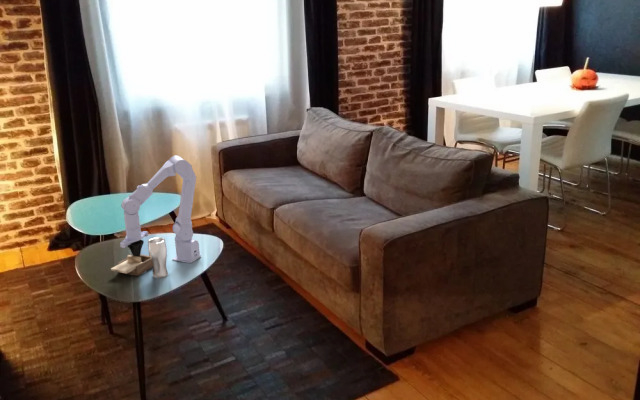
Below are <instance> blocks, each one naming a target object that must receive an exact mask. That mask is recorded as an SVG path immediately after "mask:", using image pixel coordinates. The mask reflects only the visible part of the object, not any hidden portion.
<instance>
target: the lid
mask: <svg viewBox="0 0 640 400" xmlns="http://www.w3.org/2000/svg"><path fill="white" fill-rule="evenodd" d="M132 255H133V254H127V256H126V258H127V259H128V260H126V261H124V262H122V263H120V264H119V265H118V264H117V265H115V266H113V267H111V268H110V271H111V272H112V271H113V272H117V273H120V272H121V274H125V273H126V274H125V275H128V274H127V273H129V272H130V271H132V270H134V269H136V266H137V265H139V264H141V263H143V262H141V257H137V256H132Z"/></svg>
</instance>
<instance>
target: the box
mask: <svg viewBox="0 0 640 400" xmlns="http://www.w3.org/2000/svg"><path fill="white" fill-rule="evenodd" d="M131 255H132V256H133V254H131ZM140 257H141V262H143V263H141V264H139V265H137V266H136V269H134V270H132V271H130V272H129V273H127V274H126V273H124V274H125V275H131V276H137V277H140V276H141V275H143V274H145V273H146V272H148V271H149V270H151V269H153V266H152V263H151V260H150V256H149V255H147V254H141V253H140ZM126 260H128V259H127V257H126V258H124V259H122V260H120V261H118V262H117V265H119V264H120V263H122V262H124V261H126ZM119 273H121V272H119ZM121 274H122V273H121Z"/></svg>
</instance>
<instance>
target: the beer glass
mask: <svg viewBox="0 0 640 400" xmlns="http://www.w3.org/2000/svg"><path fill="white" fill-rule="evenodd" d="M147 244H148V245H147V247H148V248H147V249H148V256H150V260H151V263H152V266H153V268H152V277H153V278H154V279H163V278H166V277H168V275H169V272H168V269H167V257H168V254H167V252H168V249H167V243H166V239H165V238H164V237H157V236H156V237H153V238H150V239H148V240H147Z"/></svg>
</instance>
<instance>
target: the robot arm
mask: <svg viewBox="0 0 640 400" xmlns="http://www.w3.org/2000/svg"><path fill="white" fill-rule="evenodd" d="M176 174H177V175H179V176H180V178H181V179H182V186H181V193H180V201H179V209H178V214H177V217H176V218H175V222H174V224H173V225H172V232H173V233H174V234H175V236H174V243H175V255H176V256H175V257H173V258H172V261H174V262H175V261H176V262H183V263H187V264H188V263H189V264H191V263H193V262H195V261H197V260H198V259H199V258H202V255H201V254H200V253H201V251H200V244H199V241H198V240H195V238H193V236H194V230H193V223H192V213H193V212H192V211H193V204H194V198H195V197H194V196H195V192H196V191H195V189H196V182H197V176H196V174H195V171H194V169H193V165H192V164H191V163H190V162H189V161H187V160H186V159H183V158H182V157H181V156H180V155H173V156H171V157H170V158H169V159H168V160H167V161H165V163H163V165H162V167H160V168H159V170H158V171H156V173H155V174H154V175H153V176H152V177H151V178H150V179H149V180H148V181H147V182H146V183H142V184H141V185H140V184H139V185H137V186H136V189H135V190H134V191H133V192H132V193H131V194H128V195H127V197H126V198H124V199H123V200H122V202H121V205H120V207H121V208H122V210H123V215H124V216H123V218H124V225H125V238H124V239H123V240H122V241H121V242H120V243H119V246H120V248H122V249H125V248H128V249H129V250H130V253H131V255H133V256H137V257H140V254H141V251H142V248H143V246H144V243H145V241H144V240H142V239H143V238H145V237H146V238H147V237H148V236H149V232H148V231H145V230H143V231H142V230H141V220H140V215H139V211H140V209H141V206H142V205H143V204H144V203H145V202H146V201H147V200H148V199H149V198H150V197H151V196H152V195H153V190H155V188H156V187H157V186H158V185H159V184H161V183H162V182H163V181H164V180H165V179H166V178H168V177H175V176H177V175H176Z"/></svg>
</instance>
